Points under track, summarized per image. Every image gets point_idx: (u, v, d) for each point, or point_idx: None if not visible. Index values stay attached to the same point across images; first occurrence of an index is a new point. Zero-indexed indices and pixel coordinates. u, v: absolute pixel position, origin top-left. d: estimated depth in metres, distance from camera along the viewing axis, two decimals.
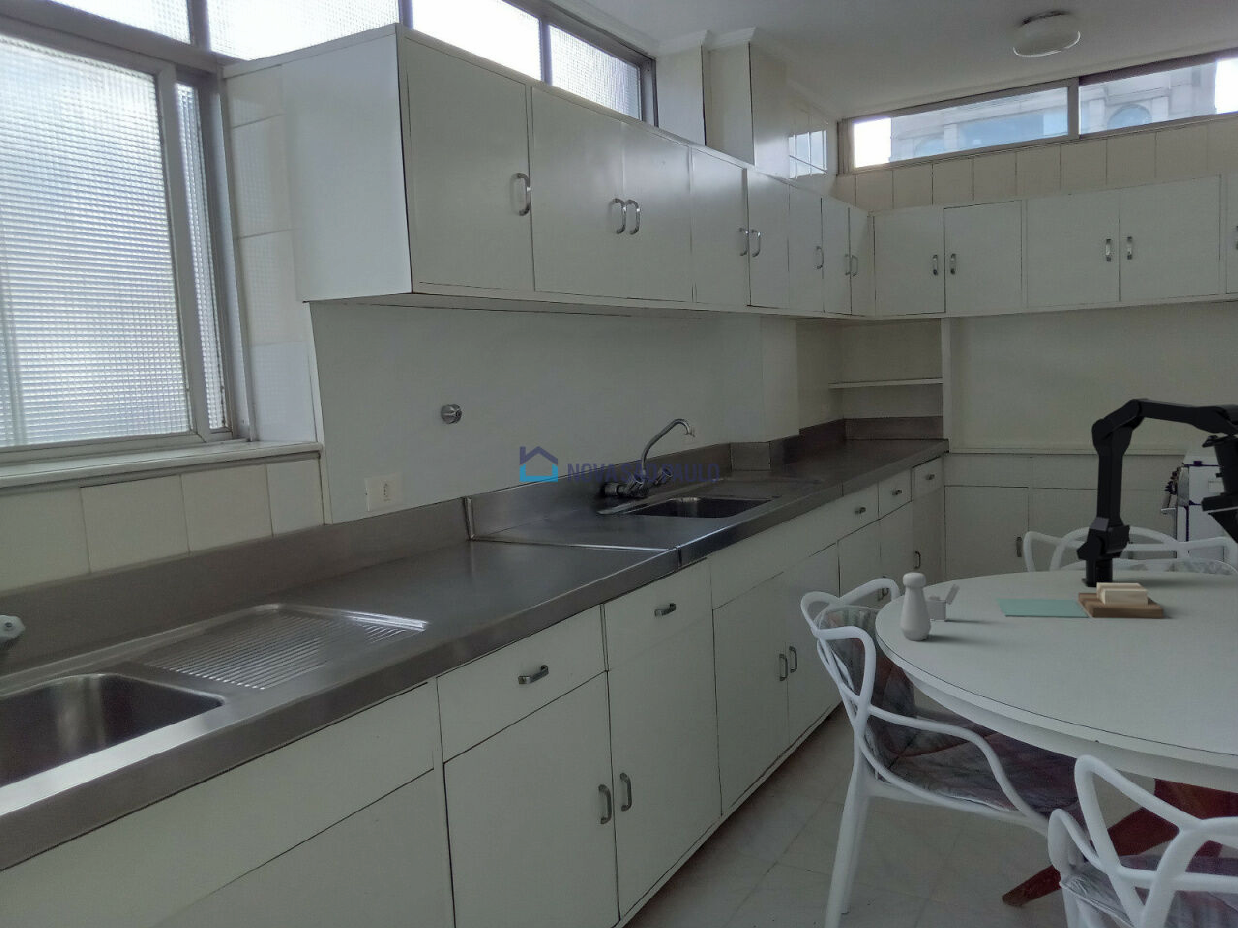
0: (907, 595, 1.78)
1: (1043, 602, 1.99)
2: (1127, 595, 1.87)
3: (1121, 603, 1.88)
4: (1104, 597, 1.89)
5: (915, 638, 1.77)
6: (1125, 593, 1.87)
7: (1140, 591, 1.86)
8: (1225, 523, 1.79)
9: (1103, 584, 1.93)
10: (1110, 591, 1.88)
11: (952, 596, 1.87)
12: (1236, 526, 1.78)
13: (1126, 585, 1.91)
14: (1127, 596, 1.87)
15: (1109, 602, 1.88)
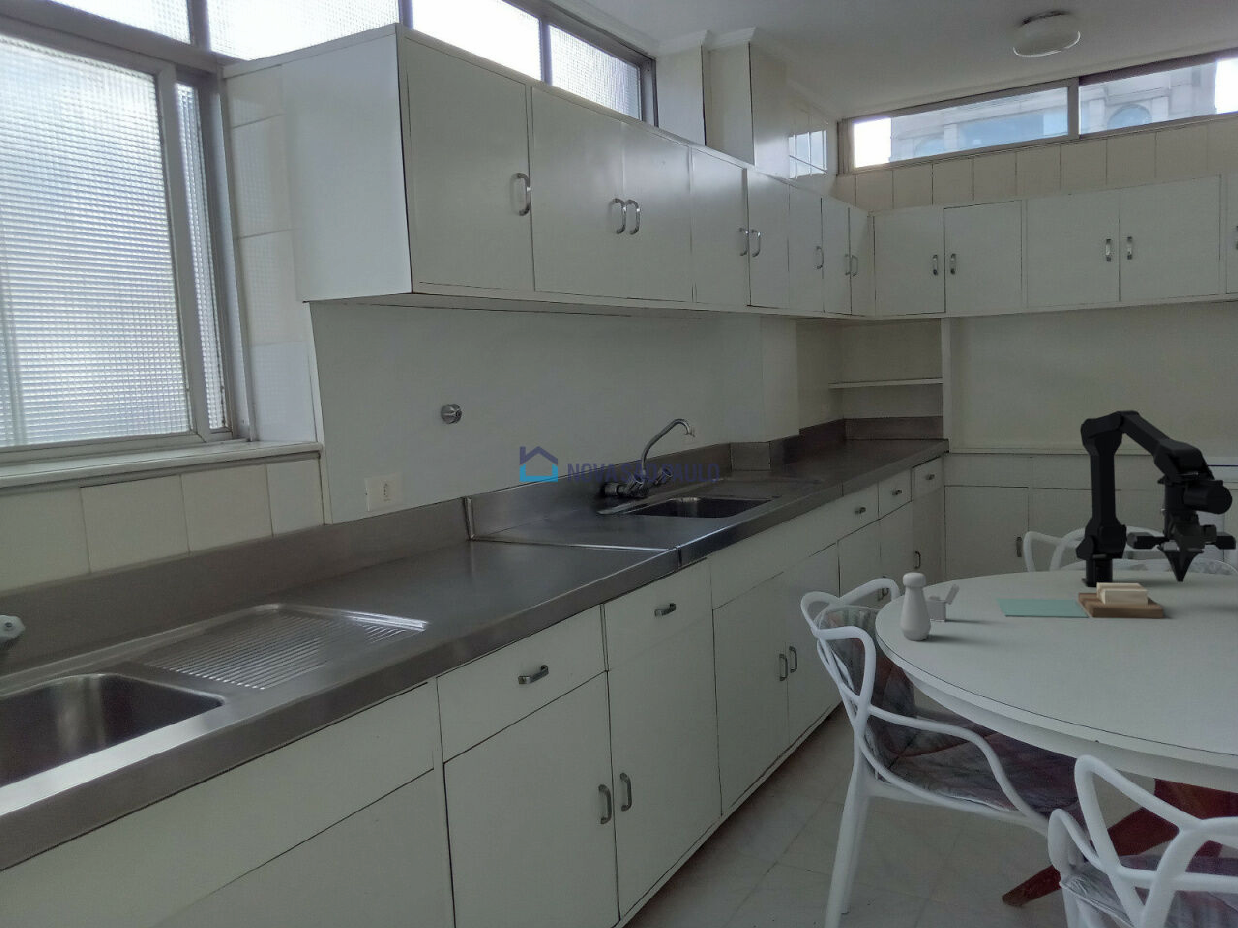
0: (907, 595, 1.78)
1: (1043, 602, 1.99)
2: (1127, 595, 1.87)
3: (1121, 603, 1.88)
4: (1104, 597, 1.89)
5: (915, 638, 1.77)
6: (1125, 593, 1.87)
7: (1140, 591, 1.86)
8: (1170, 559, 1.88)
9: (1103, 584, 1.93)
10: (1110, 591, 1.88)
11: (952, 596, 1.87)
12: (1173, 565, 1.87)
13: (1126, 585, 1.91)
14: (1127, 596, 1.87)
15: (1109, 602, 1.88)
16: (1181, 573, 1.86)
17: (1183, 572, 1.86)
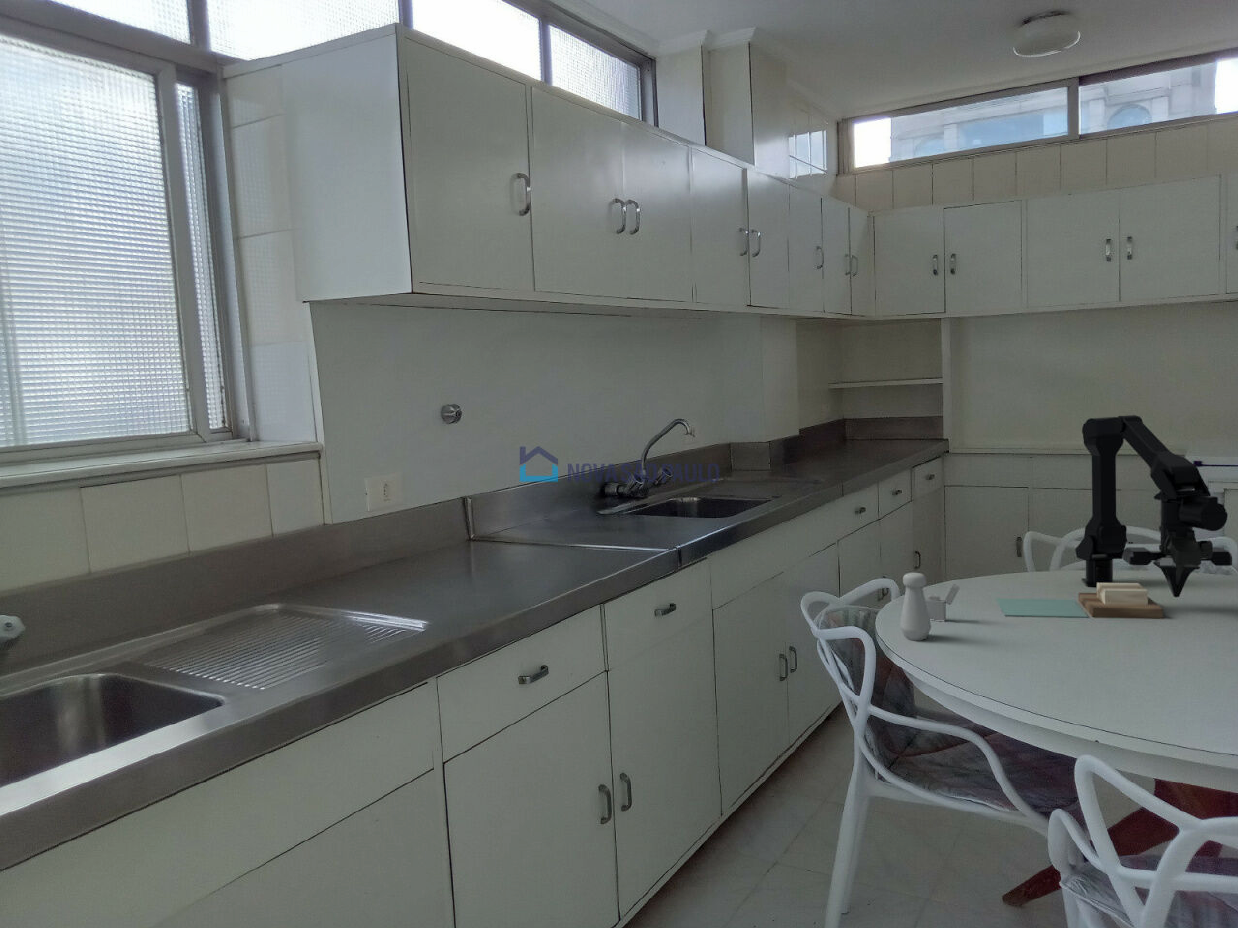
0: (907, 595, 1.78)
1: (1043, 602, 1.99)
2: (1127, 595, 1.87)
3: (1121, 603, 1.88)
4: (1104, 597, 1.89)
5: (915, 638, 1.77)
6: (1125, 593, 1.87)
7: (1140, 591, 1.86)
8: (1166, 575, 1.89)
9: (1103, 584, 1.93)
10: (1110, 591, 1.88)
11: (952, 596, 1.87)
12: (1170, 581, 1.87)
13: (1126, 585, 1.91)
14: (1127, 596, 1.87)
15: (1109, 602, 1.88)
16: (1177, 588, 1.87)
17: (1179, 587, 1.87)
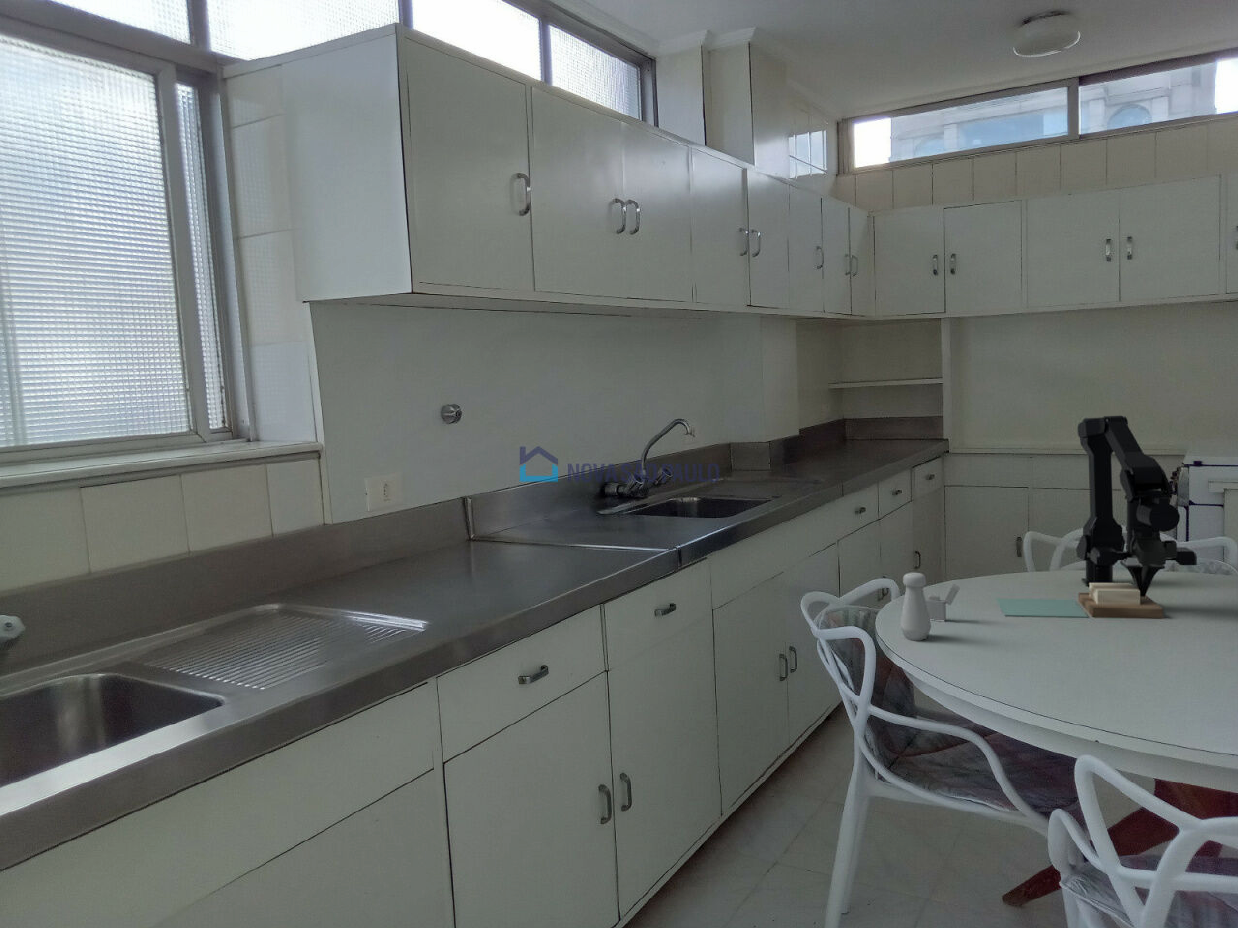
0: (907, 595, 1.78)
1: (1043, 602, 1.99)
2: (1120, 595, 1.87)
3: (1113, 603, 1.88)
4: (1097, 597, 1.89)
5: (915, 638, 1.77)
6: (1118, 593, 1.87)
7: (1132, 591, 1.87)
8: (1132, 575, 1.91)
9: (1096, 584, 1.93)
10: (1103, 591, 1.88)
11: (952, 596, 1.87)
12: (1136, 581, 1.89)
13: (1118, 585, 1.92)
14: (1120, 596, 1.87)
15: (1102, 602, 1.88)
16: (1143, 588, 1.89)
17: (1145, 587, 1.88)
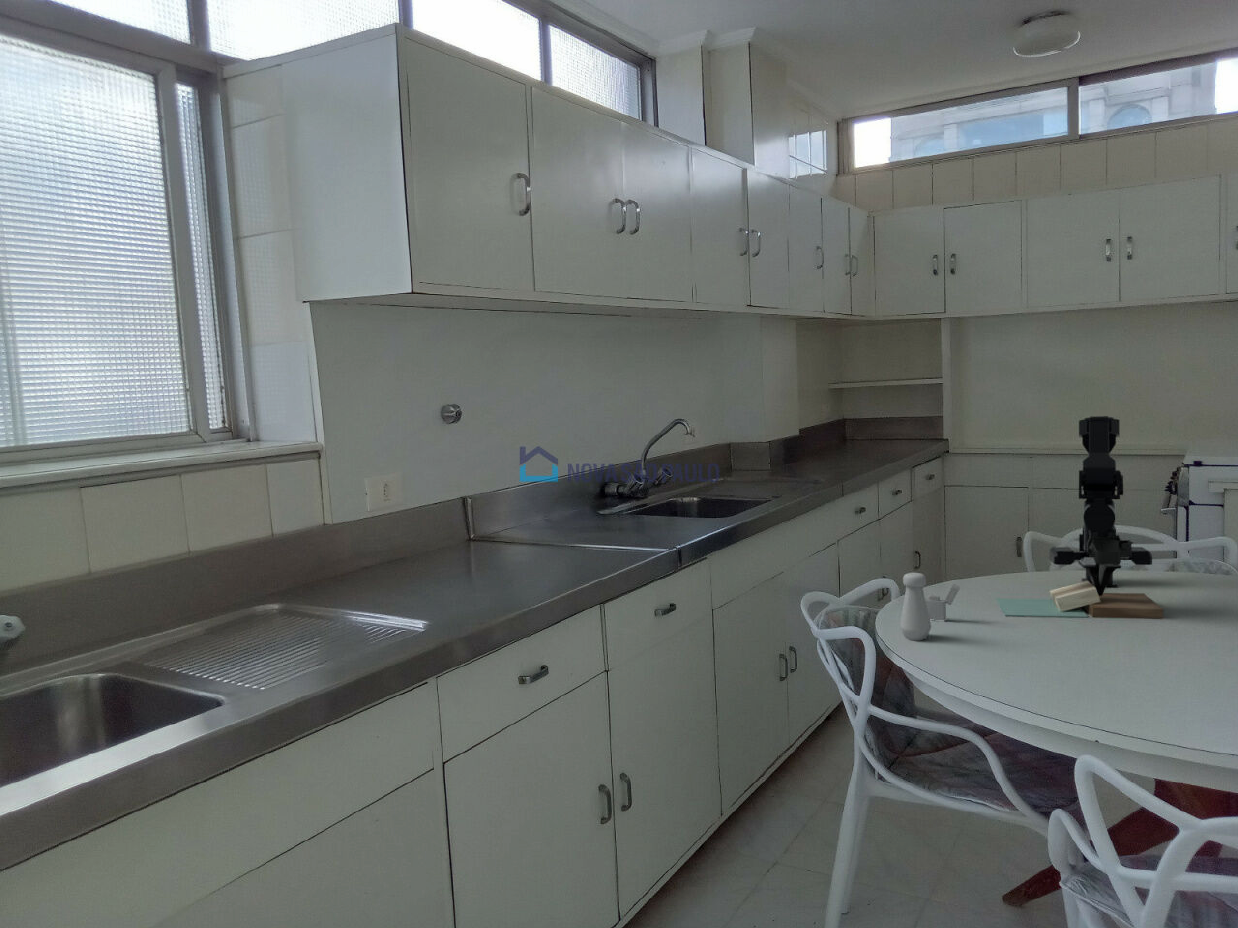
0: (907, 595, 1.78)
1: (1043, 602, 1.99)
2: (1078, 597, 1.89)
3: (1075, 606, 1.90)
4: (1058, 605, 1.91)
5: (915, 638, 1.77)
6: (1076, 596, 1.89)
7: (1089, 590, 1.89)
8: (1090, 574, 1.93)
9: (1055, 591, 1.95)
10: (1061, 598, 1.90)
11: (952, 596, 1.87)
12: (1093, 580, 1.91)
13: (1076, 586, 1.94)
14: (1079, 598, 1.89)
15: (1064, 608, 1.90)
16: (1100, 587, 1.91)
17: (1102, 586, 1.91)
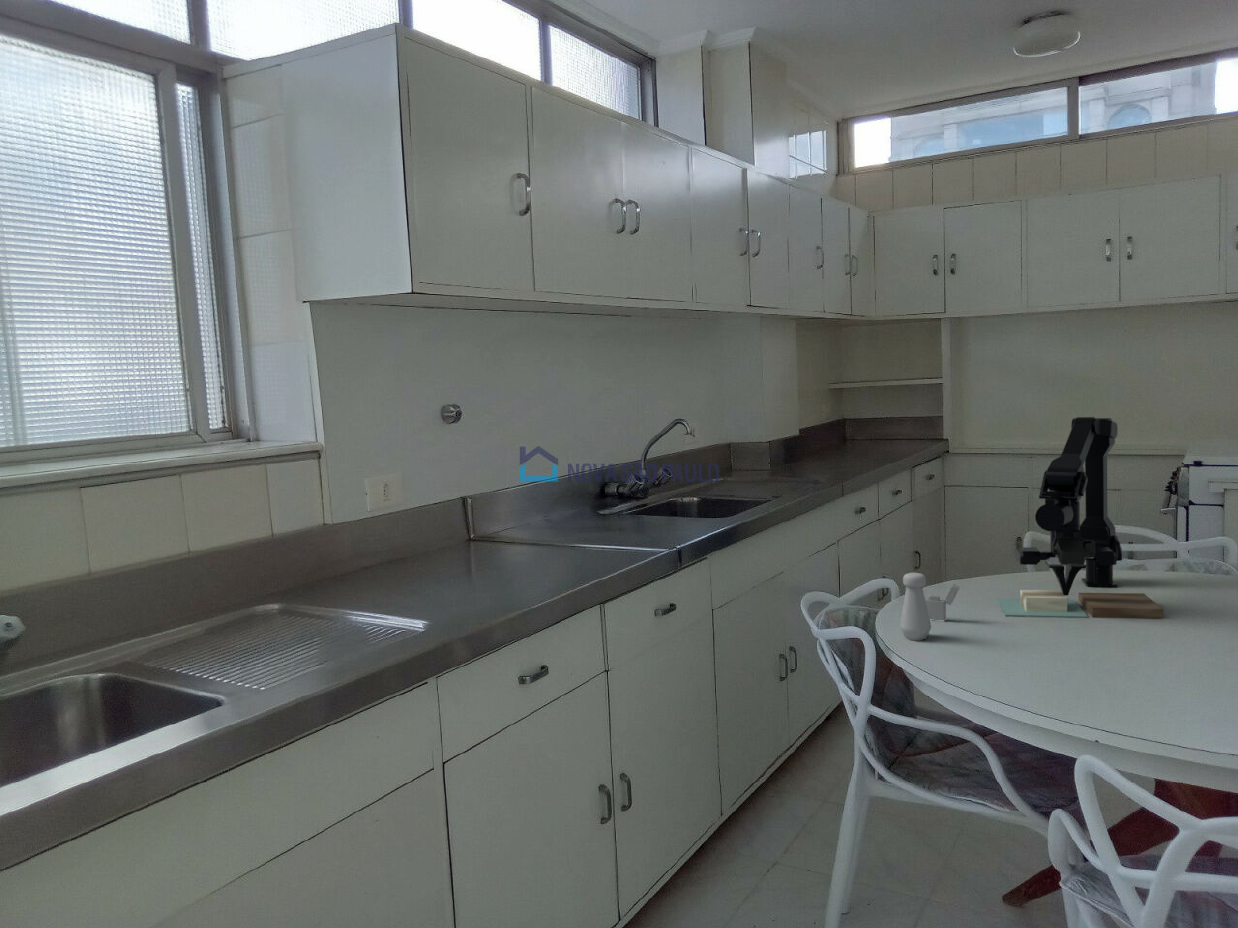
0: (907, 595, 1.78)
1: None
2: (1048, 602, 1.91)
3: (1042, 610, 1.92)
4: (1026, 604, 1.93)
5: (915, 638, 1.77)
6: (1046, 600, 1.91)
7: (1060, 598, 1.90)
8: (1056, 574, 1.95)
9: (1026, 591, 1.97)
10: (1031, 598, 1.92)
11: (952, 596, 1.87)
12: (1059, 580, 1.93)
13: (1048, 592, 1.95)
14: (1048, 603, 1.91)
15: (1030, 609, 1.92)
16: (1066, 587, 1.93)
17: (1068, 586, 1.92)
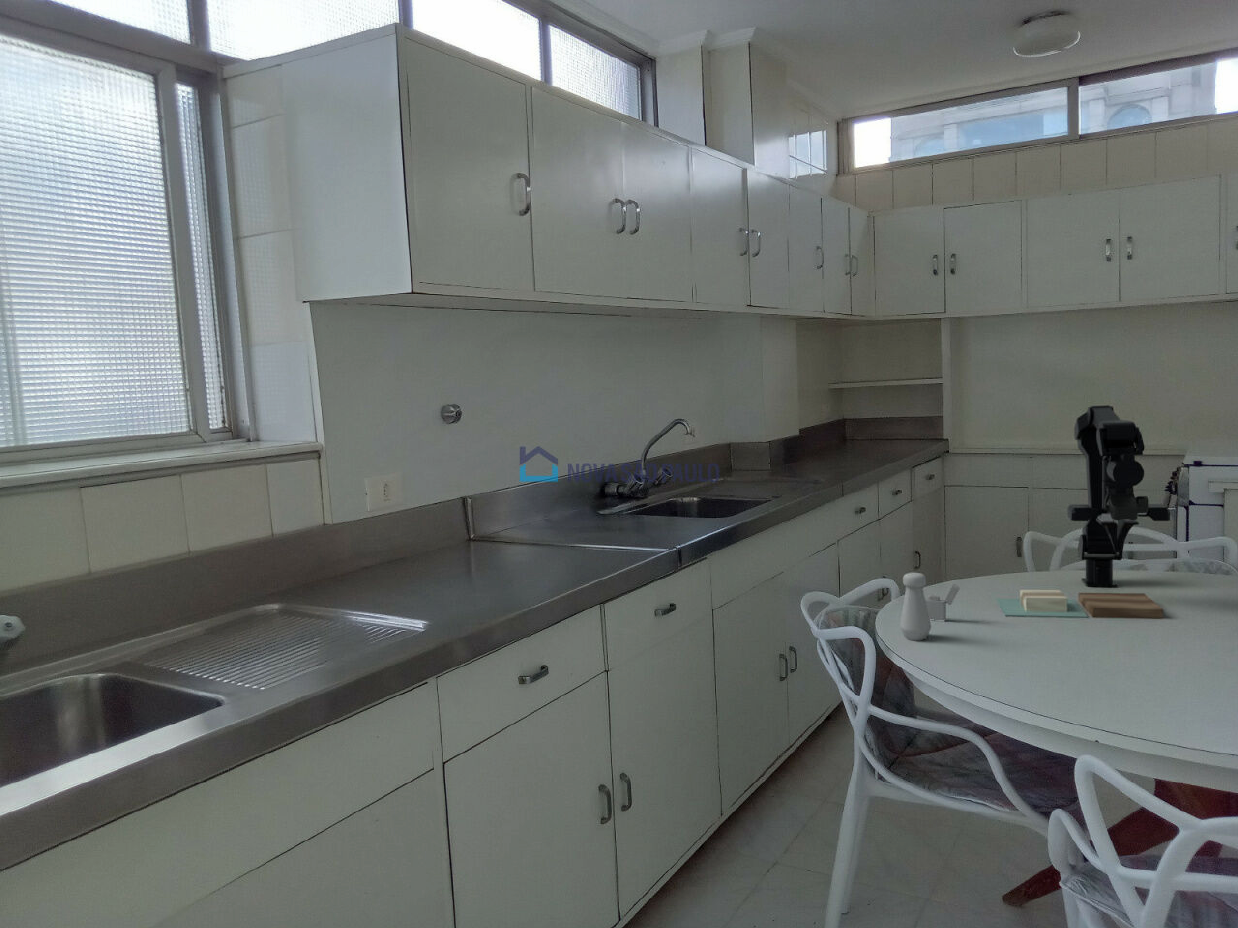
0: (907, 595, 1.78)
1: None
2: (1047, 602, 1.91)
3: (1042, 610, 1.92)
4: (1025, 604, 1.93)
5: (915, 638, 1.77)
6: (1045, 600, 1.91)
7: (1060, 598, 1.90)
8: (1108, 531, 1.95)
9: (1026, 591, 1.97)
10: (1031, 598, 1.92)
11: (952, 596, 1.87)
12: (1110, 536, 1.93)
13: (1047, 592, 1.95)
14: (1048, 603, 1.91)
15: (1030, 609, 1.92)
16: (1118, 544, 1.93)
17: (1120, 543, 1.92)
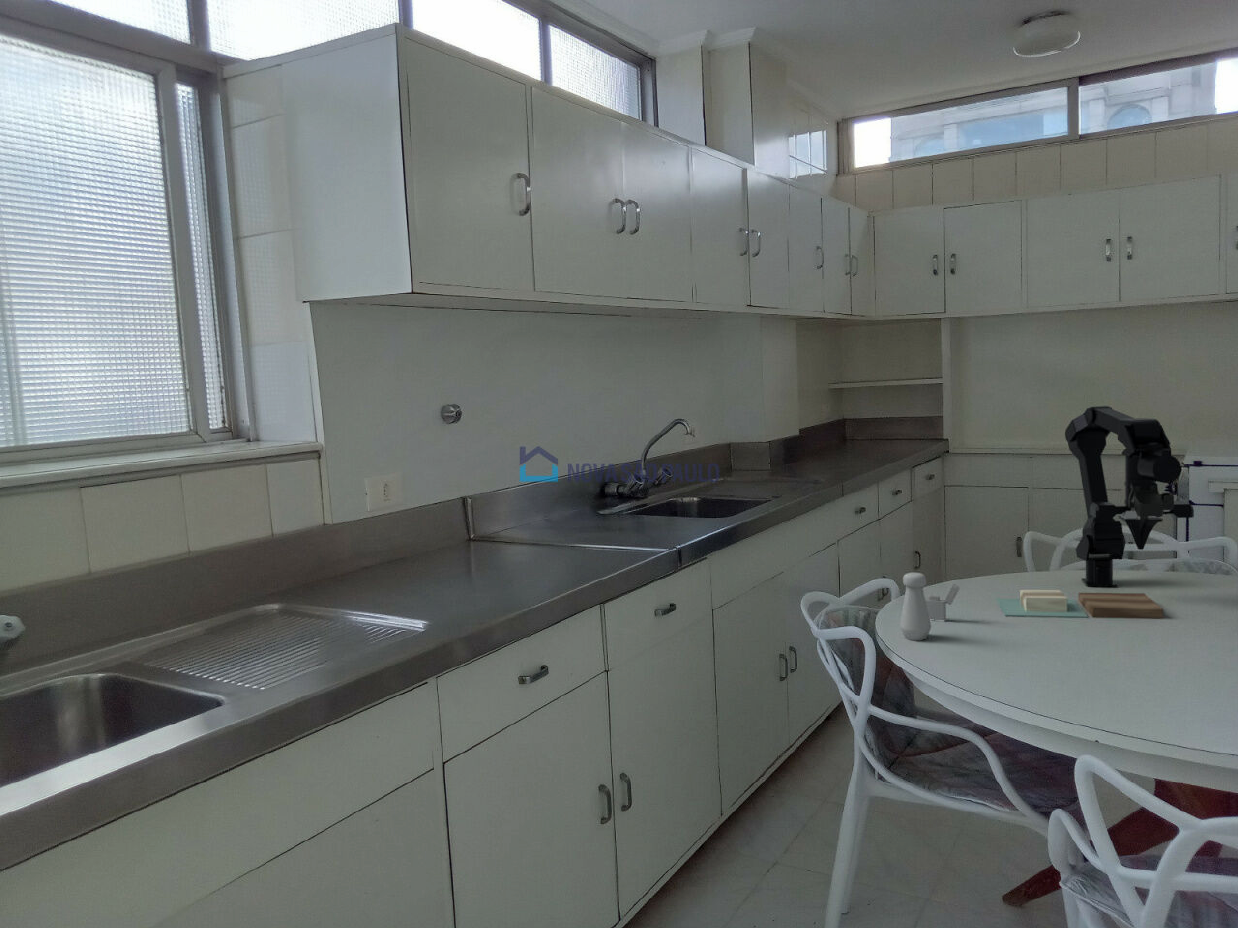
0: (907, 595, 1.78)
1: None
2: (1047, 602, 1.91)
3: (1042, 610, 1.92)
4: (1025, 604, 1.93)
5: (915, 638, 1.77)
6: (1045, 600, 1.91)
7: (1060, 598, 1.90)
8: (1131, 528, 1.95)
9: (1026, 591, 1.97)
10: (1031, 598, 1.92)
11: (952, 596, 1.87)
12: (1134, 534, 1.93)
13: (1047, 592, 1.95)
14: (1048, 603, 1.91)
15: (1030, 609, 1.92)
16: (1141, 541, 1.93)
17: (1143, 540, 1.92)
